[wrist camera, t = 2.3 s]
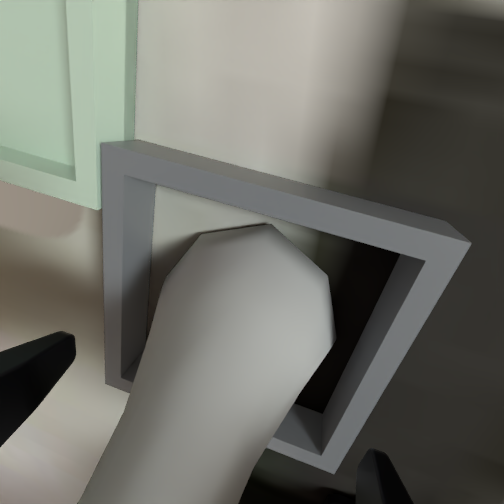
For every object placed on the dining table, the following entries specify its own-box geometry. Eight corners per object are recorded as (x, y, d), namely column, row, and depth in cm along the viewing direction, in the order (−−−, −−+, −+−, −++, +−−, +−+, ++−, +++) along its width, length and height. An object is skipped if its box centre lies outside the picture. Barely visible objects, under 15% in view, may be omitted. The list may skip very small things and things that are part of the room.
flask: (142, 265, 13) (-244, 552, 4) (282, 188, 10) (-15, 567, 2) (226, 383, 15) (69, 767, 6) (367, 344, 12) (467, 972, 3)
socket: (333, 430, 14) (334, 474, 12) (131, 354, 16) (105, 383, 14) (445, 220, 9) (471, 243, 8) (138, 139, 11) (100, 142, 9)
